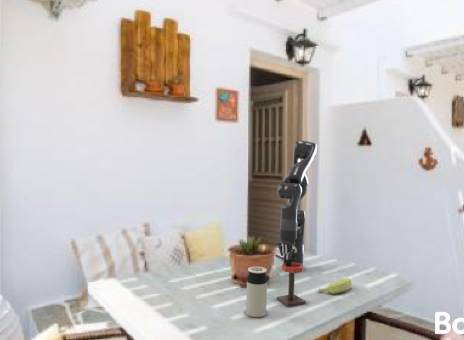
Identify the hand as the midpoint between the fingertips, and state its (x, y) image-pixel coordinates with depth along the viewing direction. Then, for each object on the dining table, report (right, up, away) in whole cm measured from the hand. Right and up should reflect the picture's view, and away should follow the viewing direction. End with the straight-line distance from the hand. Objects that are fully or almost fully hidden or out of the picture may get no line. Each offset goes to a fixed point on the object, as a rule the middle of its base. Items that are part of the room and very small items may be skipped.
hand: (287, 267), depth 171 cm
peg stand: (+1, -14, -3) cm, 15 cm away
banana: (+24, -14, +14) cm, 31 cm away
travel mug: (-14, -15, -16) cm, 26 cm away
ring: (+2, 0, -3) cm, 4 cm away
